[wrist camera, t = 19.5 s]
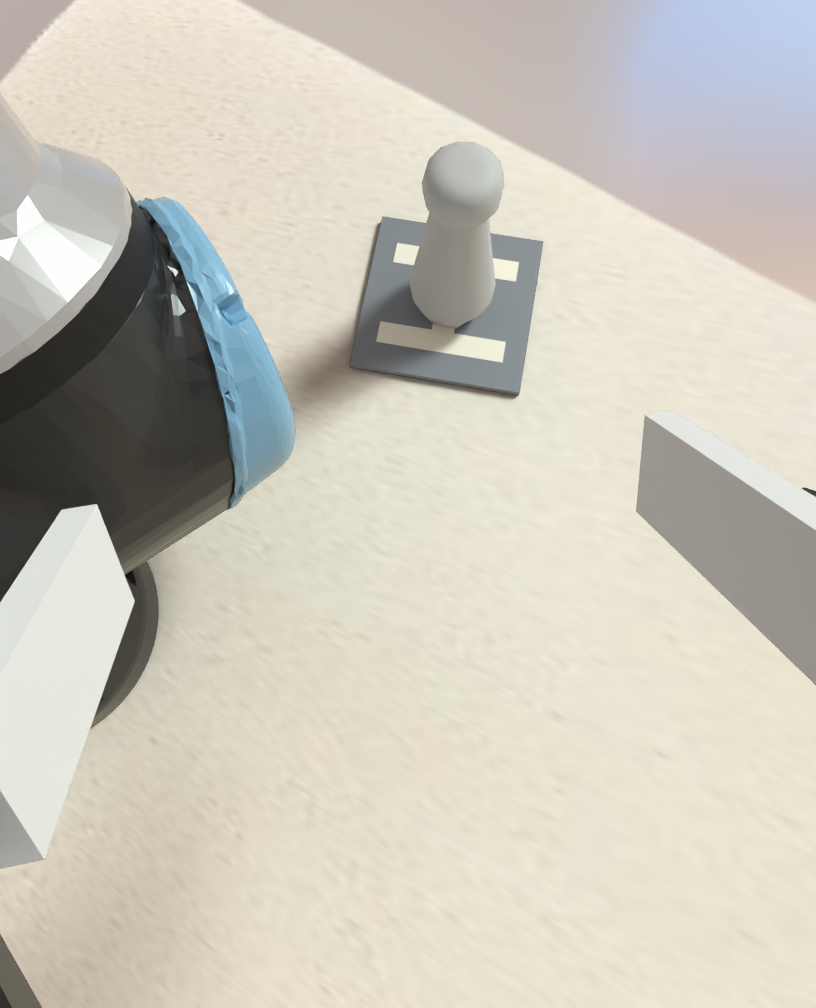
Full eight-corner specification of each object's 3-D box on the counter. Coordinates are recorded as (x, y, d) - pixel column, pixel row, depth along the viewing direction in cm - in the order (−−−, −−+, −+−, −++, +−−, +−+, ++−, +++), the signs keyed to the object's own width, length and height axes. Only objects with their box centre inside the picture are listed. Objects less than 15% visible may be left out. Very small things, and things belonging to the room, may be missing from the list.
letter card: (350, 367, 44) (349, 363, 44) (382, 220, 47) (382, 216, 46) (518, 395, 44) (519, 392, 43) (541, 246, 46) (543, 241, 46)
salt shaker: (403, 272, 45) (399, 127, 32) (481, 259, 45) (507, 110, 33) (418, 345, 44) (420, 224, 31) (498, 332, 44) (532, 205, 31)
